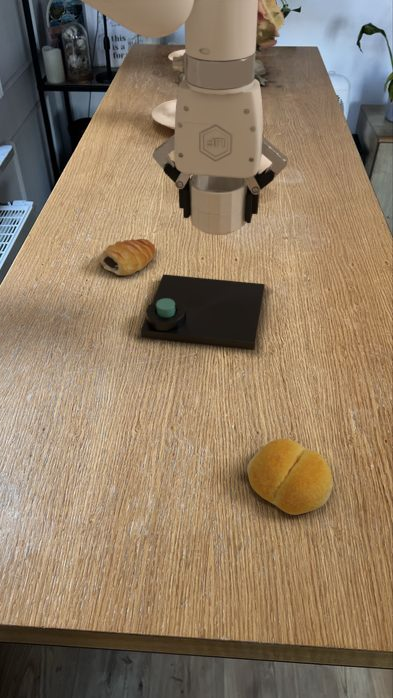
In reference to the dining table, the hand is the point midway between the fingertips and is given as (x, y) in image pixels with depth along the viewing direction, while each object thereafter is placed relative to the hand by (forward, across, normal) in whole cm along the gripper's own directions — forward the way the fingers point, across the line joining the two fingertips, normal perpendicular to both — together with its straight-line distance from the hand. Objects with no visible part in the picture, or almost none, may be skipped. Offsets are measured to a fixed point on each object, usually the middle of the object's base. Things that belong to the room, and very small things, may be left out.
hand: (218, 214), depth 76 cm
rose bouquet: (+17, -15, +113) cm, 115 cm away
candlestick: (+17, -17, +70) cm, 74 cm away
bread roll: (+17, +12, -28) cm, 35 cm away
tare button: (+14, -7, -4) cm, 16 cm away
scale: (+16, -2, 0) cm, 17 cm away
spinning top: (+17, +1, +38) cm, 42 cm away
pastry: (+17, -17, +11) cm, 26 cm away
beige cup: (+1, 0, 0) cm, 1 cm away
